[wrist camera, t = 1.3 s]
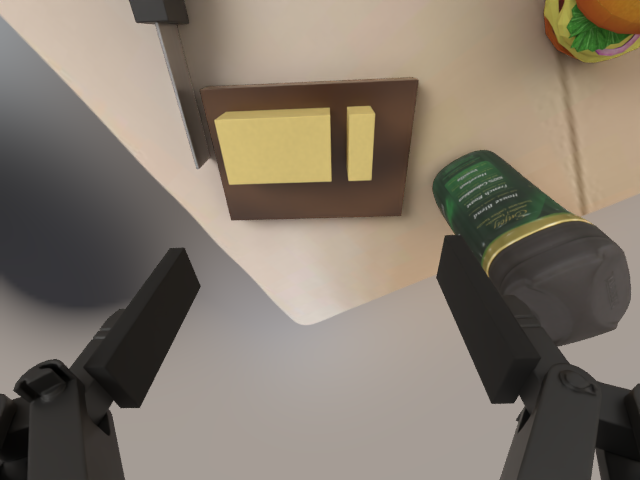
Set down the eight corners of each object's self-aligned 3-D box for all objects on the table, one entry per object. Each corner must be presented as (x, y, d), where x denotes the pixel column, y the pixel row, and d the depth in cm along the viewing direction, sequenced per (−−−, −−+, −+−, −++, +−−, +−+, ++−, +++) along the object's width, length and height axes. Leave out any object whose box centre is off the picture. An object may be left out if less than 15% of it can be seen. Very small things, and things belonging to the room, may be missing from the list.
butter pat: (346, 106, 28) (349, 114, 25) (370, 105, 28) (375, 113, 25) (346, 168, 31) (348, 181, 28) (367, 167, 31) (371, 180, 28)
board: (206, 86, 29) (199, 89, 27) (413, 77, 28) (418, 79, 26) (235, 212, 37) (231, 220, 35) (397, 207, 36) (401, 215, 34)
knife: (111, -153, 21) (68, -191, 17) (148, -155, 21) (111, -195, 17) (198, 157, 33) (182, 171, 30) (221, 157, 33) (208, 171, 29)
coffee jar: (419, 176, 34) (496, 292, 18) (489, 135, 31) (648, 231, 16) (451, 235, 38) (535, 368, 23) (515, 203, 35) (660, 330, 20)
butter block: (225, 111, 28) (213, 120, 25) (329, 107, 28) (330, 115, 25) (237, 171, 32) (228, 184, 29) (331, 168, 31) (331, 181, 28)
